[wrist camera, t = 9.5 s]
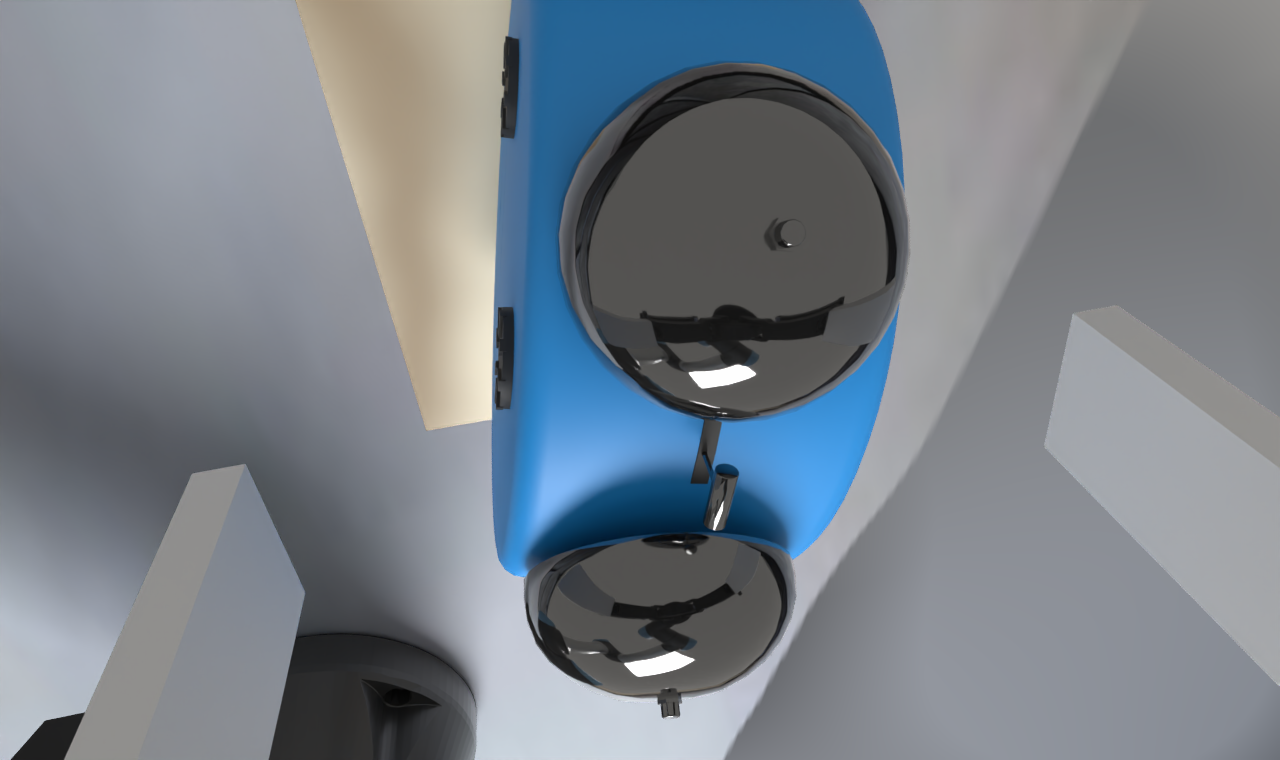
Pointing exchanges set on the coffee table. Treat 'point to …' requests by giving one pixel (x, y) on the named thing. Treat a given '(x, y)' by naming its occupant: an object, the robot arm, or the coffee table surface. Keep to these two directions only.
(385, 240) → the stool
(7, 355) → the coffee table surface
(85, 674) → the coffee table surface
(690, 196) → the alarm clock
